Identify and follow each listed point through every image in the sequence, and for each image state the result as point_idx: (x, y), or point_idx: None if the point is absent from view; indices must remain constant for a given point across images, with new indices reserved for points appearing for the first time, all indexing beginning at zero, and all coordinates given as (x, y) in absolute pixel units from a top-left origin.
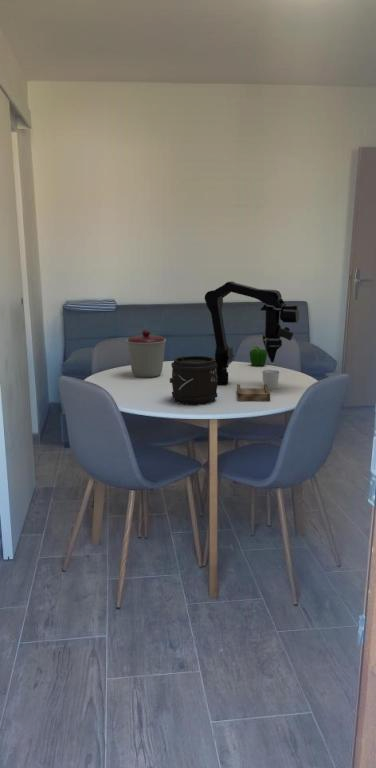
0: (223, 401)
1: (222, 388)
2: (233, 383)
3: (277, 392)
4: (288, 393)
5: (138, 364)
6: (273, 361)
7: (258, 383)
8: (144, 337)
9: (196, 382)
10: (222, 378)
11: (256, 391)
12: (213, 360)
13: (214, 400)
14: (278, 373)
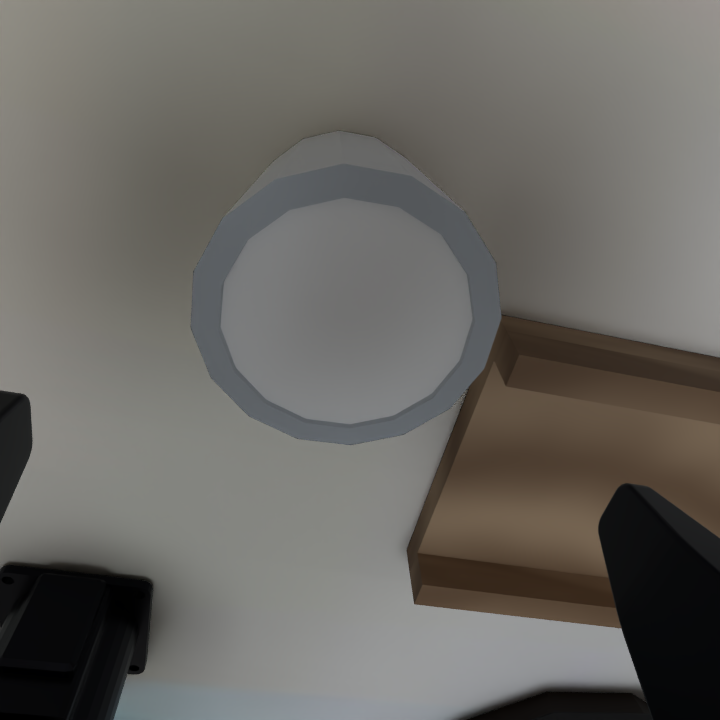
0: None
1: (277, 619)
2: (73, 523)
3: (592, 210)
4: (703, 83)
5: None
6: (653, 497)
7: (68, 296)
8: None
9: None
10: (118, 659)
11: (596, 456)
12: None
13: (637, 698)
14: (450, 201)
